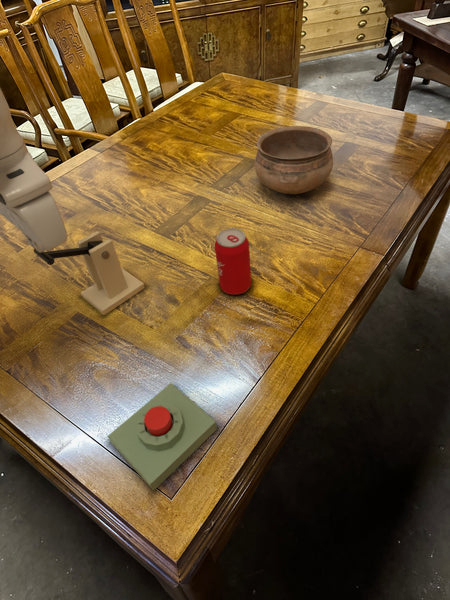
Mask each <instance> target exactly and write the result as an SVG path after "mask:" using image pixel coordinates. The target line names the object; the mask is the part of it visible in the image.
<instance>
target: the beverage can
mask: <svg viewBox="0 0 450 600" xmlns="http://www.w3.org/2000/svg"><path fill="white" fill-rule="evenodd" d="M214 253H215V260H216V267H217V275H218V281H219V282H218V283H219V287H220V289H221V290H222V292H224V293H226V294H229V295H240V294H244V293H246V292H247V291H248V290H249V289H250V288H251V286H252V272H251V271H252V270H251V257H250V242H249V239H248V237H247V236H246V234H245V232H244V231H243V230H241V229H239V228H226V229H223V230H221V231H220V232H219V233H218V234H217V236H216V239H215V241H214Z"/></svg>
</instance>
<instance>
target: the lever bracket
mask: <svg viewBox="0 0 450 600" xmlns="http://www.w3.org/2000/svg"><path fill="white" fill-rule="evenodd" d="M92 241H103V243H101V244H99V245H98V246H96V247H94V248H92V249H91V250H89V253H90V256H89V255H88V254H86V255H81V256H82V258H83V261H84V263H85V266H86V268H87V270H88V272H89V275H90V277H91V279H92V282H93V284H92V285H90V286H89V287H87V288H86V289H84V290H83V291H81V292H80V296H81V297H82V298H83V300H85V301H86V302H87V303H89V304H90V305H91V306H93V308H95V309H96V310H97V311H98V312H99V313H100V314H101V315H103V316H105V315H107V314H108V313H110V312H112V311H113V310H114V309H115V308H117V307H119V306H120V305H122V304H123V303H125V302H126V301H128V300H129V299H130V298H132V297H134V296H135V295H136V294H138V293H140V292H141V291H143V290H144V289H145V288H146V287H145V284H144V282H142V281H141V280H140V279H138V278H137V277H135V276H134V275H133V274H131V273H129V272H128V271H127V270H126V269H124V268H123V267H122V266H121V262H120V261H119V257H118V255H117V252H116V251H117V250H116V248H115V246H114V243H113V241H112V240H111V239H110V238H108V239H106V240H103V239H102V236H101V233H100V231H98V230H96V231H94V232H93V233H91V234H89V235H87V236H85V237H83V238H82V239H80V240H78V241H76V243H77V246H78V248H81V247H87V246H88V242H92Z"/></svg>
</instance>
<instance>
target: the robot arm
mask: <svg viewBox="0 0 450 600" xmlns="http://www.w3.org/2000/svg"><path fill="white" fill-rule="evenodd" d="M11 115H12V114H11V109H10V105H9V104H8V102H7V99H6V97H5V94H4V92H3V91H2V88H1V87H0V215H1V216H2V217H3V218H4V219H6V221H8V222H10V224H12V225H13V226H14V227H15V228H17V229H18V230H19V231H20V232H21V233H22V235H23V236H24V237H25V238H26V240H27V242H28V244H29V246H30V247H32V248H33V250H34V249H36V250H37V251H38V252H39V253H41V252H43V251H44V252H46V251H53V250H55V249H56V248H58V247H60V246H62V245H64V244H65V243H66V242H67V240H68V232H67V228H66V225H65V223H64V220H63V217H62V215H61V211H60V209H59V206H58V203H57V202H56V200H55V197H54V196H53V195H52V193H51V192H50V191H51V190H53V189H54V186H53V184H52V181H51V179H50V177H49V176H48V174H47V173H46V171H44V170H43V169H42V168H41V167H40V166H39V164H38V163H36V161H35V159H34V158H33V156H32V154H31V153H30V152H29V150H28V147H27V145H26V142H25V140H24V138H23V136H22V135H21V134H20V132H19V131H18V129H16V126H15V125H14V123H13V120H12V116H11Z"/></svg>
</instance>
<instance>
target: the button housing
mask: <svg viewBox="0 0 450 600" xmlns="http://www.w3.org/2000/svg"><path fill="white" fill-rule="evenodd" d="M157 406H162V407H165V408H166V409H167V410H168V411H169V413H170V415H171V418H172V426H171V428H170V430H169V431H168V432H167V433H165V434H163V435H160V436H156V435H152V434H151V433H149V431H148V430H147V427H146V425H145V422H144V418H145V415H146V413H147V412H148V411H149V410H150V409H151V408H153V407H157ZM217 426H218V425H217V421H216V420H215V419H214V418H213V417H211V416H210V415H209V414H208V413H207V412H205V411H204V410H203V409H202V408H201V407H200V406H198V405H197V403H195V402H194V401H193V400H192V399H190V398H189V397H188V396H187V395H186V394H185V393H184V392H182V390H180V389H179V388H178V387H177V386H176V385H174V384H173V383H172V382H170V383H169V384H168V385H167V386H165V387H164V388H163V389H162V390H160V391H159V392H158V393H157V394H156V395H154V396H153V397H152V398H151V399H149V401H147V402H146V403H145V404H144V405H143V406H141V407H140V408H139V409H138V410H136V411H135V412H134V413H133V414H132V415H131V416H129V417H128V419H126V420H125V421H124V422H122V423H121V424H120V425H119V426H118V427H117V428H115V429H114V430H113V431H112V432H110V434H108V435H107V438H108V440H109V442H110V443H111V445H112V446H113V447H114V448H115V449H116V450H117V452H119V453H120V455H121V456H122V457H123V458H124V459H125V460H126V462H127V463H128V464H129V465H130V466H131V467H132V468H133V470H134V471H135V472H136V473H137V474H138V475H139V476H140V477H141V479H142V480H144V482H145V483H146V484H147V485H148V486H149V487H150V488H151V490H152V491H154V492H155V490H156V489H158V487H159V486H160V485H161V484H163V483H164V482H165V481H166V479H168V478H169V477H170V476H171V475H172V474H173V473H174V472H175V471H176V470H177V469H178V468H179V467H180V466H181V465H182V464H183V463H184V462H186V460H187V459H188V458H189V457H190V456H191V455H192V454H193V453H195V451H197V449H198V448H199V447H201V446H202V444H203V443H205V442H206V440H208V439H209V437H211V436H212V434H213V435H214V433H215V432H216V431H217V430H218V427H217Z"/></svg>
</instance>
